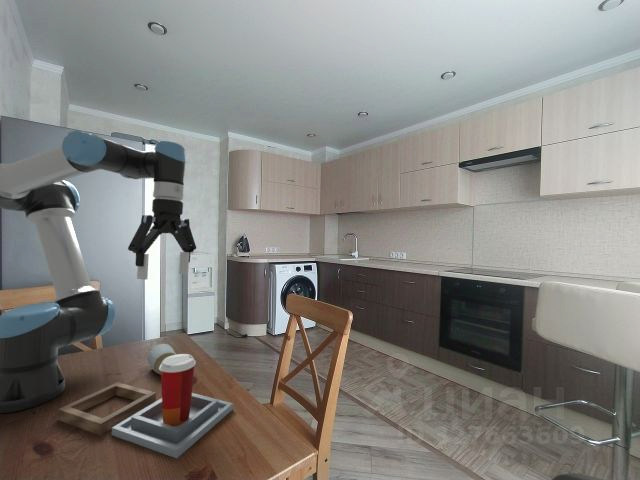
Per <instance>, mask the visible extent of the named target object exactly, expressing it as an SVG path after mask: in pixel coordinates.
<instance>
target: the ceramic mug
mask: <svg viewBox="0 0 640 480" xmlns="http://www.w3.org/2000/svg"><path fill="white" fill-rule="evenodd" d="M177 354H178V353H176V352H175V350H174V349H173V347H172V346H171V345H169V344H168V343H160V344H157V345H155V346H154V347H153V348H151V349H150V351H149V353H148V355H147V362H148V364H149V366H150V367H151V369H152V370H153V371H154V372H155V373H156V374H157V375H160V376H161V371H160V370H159V367H160V365H161V363H162V362H163V360H164V359H165V358H167V357H169V356H172V355H177Z"/></svg>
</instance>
